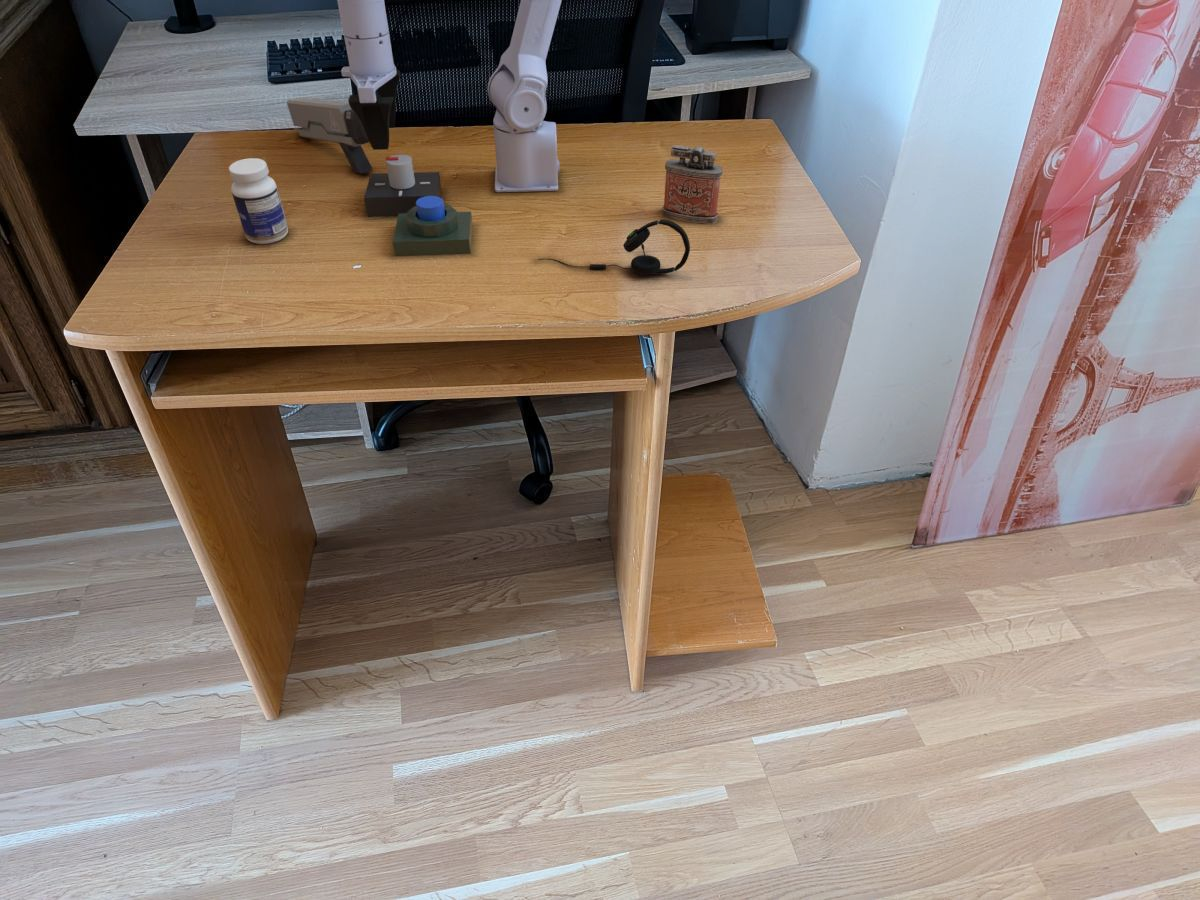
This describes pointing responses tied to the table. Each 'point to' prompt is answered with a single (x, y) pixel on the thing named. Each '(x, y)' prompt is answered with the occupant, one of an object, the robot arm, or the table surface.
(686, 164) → the lighter
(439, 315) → the table surface
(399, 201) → the dimmer console
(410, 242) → the switch box
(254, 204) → the pill bottle
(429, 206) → the power button
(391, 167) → the dimmer knob
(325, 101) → the gun
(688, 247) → the headset
